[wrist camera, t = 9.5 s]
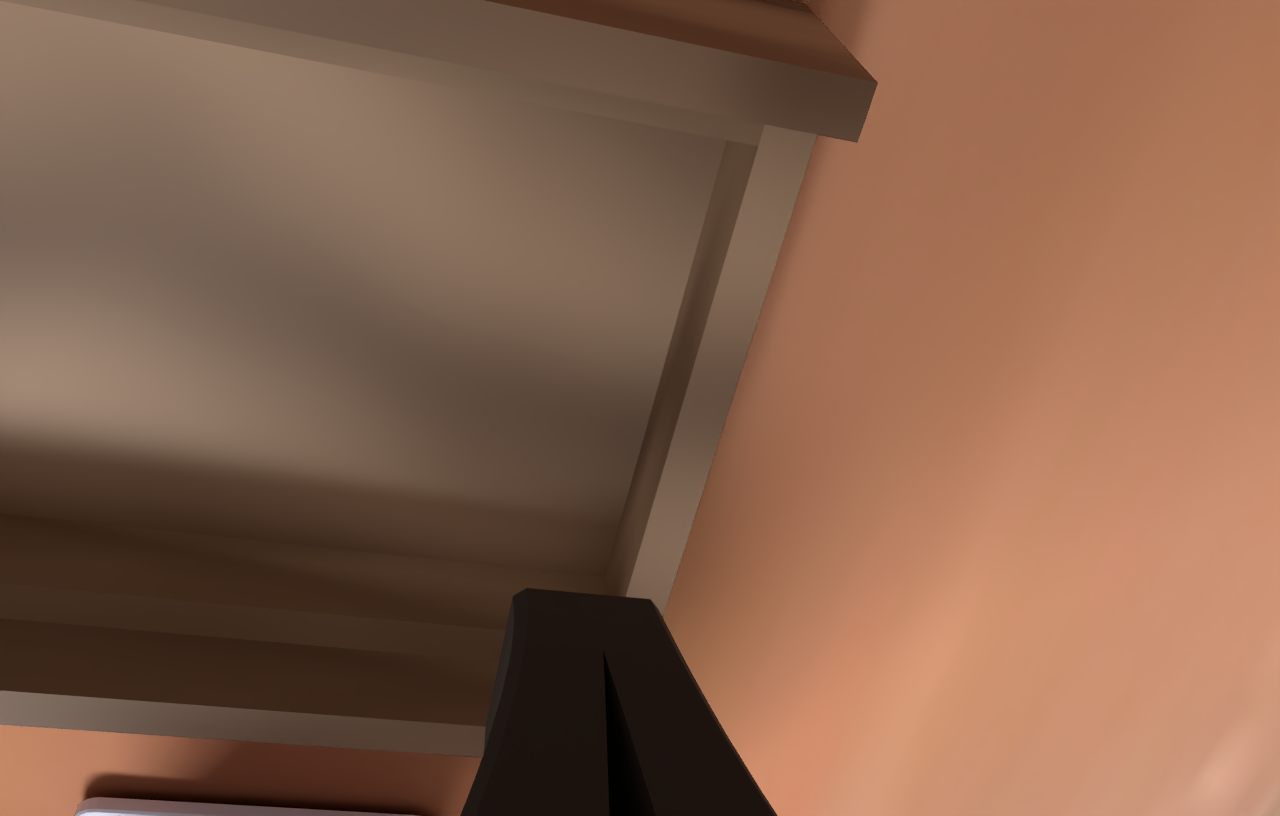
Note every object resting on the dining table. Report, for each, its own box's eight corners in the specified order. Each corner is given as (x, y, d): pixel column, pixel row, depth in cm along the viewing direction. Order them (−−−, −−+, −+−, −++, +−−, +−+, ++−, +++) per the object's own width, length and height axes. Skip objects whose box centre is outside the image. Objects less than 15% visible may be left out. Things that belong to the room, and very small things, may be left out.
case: (623, 618, 24) (644, 768, 21) (-221, 536, 21) (-354, 700, 18) (805, 4, 18) (877, 83, 15) (-383, -260, 14) (-644, -235, 11)
